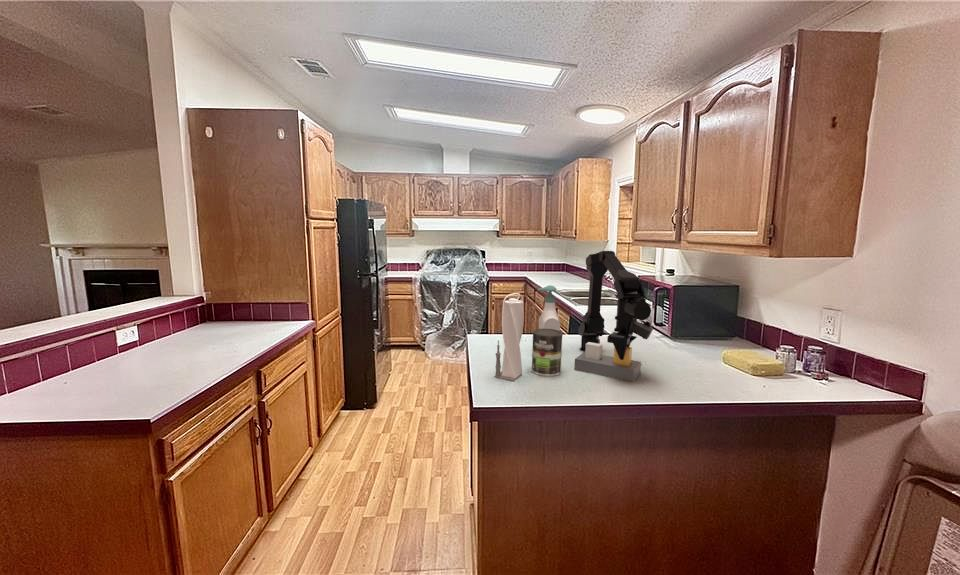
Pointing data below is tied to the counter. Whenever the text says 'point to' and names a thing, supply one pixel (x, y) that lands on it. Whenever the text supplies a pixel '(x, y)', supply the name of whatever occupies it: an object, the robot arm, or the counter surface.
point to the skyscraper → (511, 339)
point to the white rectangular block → (593, 351)
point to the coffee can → (547, 352)
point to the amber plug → (626, 359)
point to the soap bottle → (549, 311)
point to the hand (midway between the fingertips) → (623, 358)
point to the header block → (608, 367)
